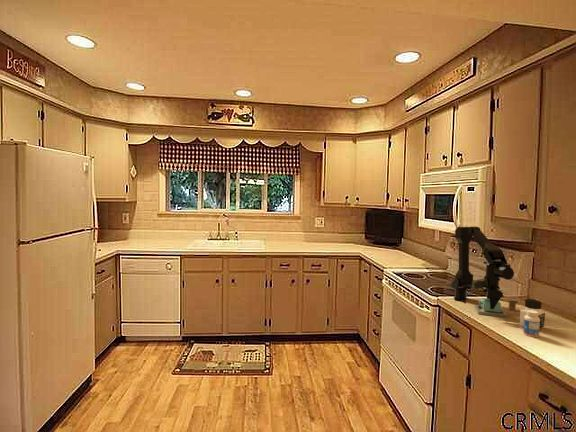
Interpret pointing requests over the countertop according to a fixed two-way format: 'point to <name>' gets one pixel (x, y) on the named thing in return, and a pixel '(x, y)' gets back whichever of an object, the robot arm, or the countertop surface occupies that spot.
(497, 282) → the robot arm
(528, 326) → the pill bottle
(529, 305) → the labeled white jar
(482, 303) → the ring
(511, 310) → the brown peg stand
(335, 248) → the countertop surface
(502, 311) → the tray
